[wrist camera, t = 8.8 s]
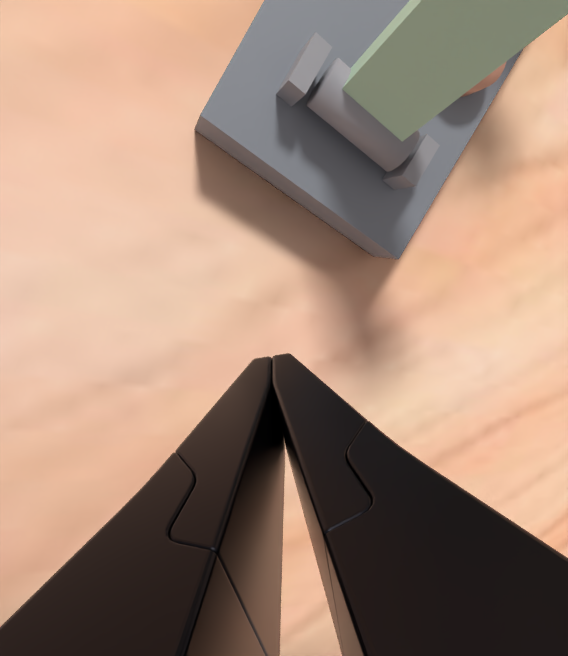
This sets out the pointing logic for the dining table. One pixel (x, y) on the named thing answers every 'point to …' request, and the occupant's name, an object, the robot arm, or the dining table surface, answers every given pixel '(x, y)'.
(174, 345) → the dining table surface
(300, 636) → the dining table surface
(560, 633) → the robot arm
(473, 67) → the green lever
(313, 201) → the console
